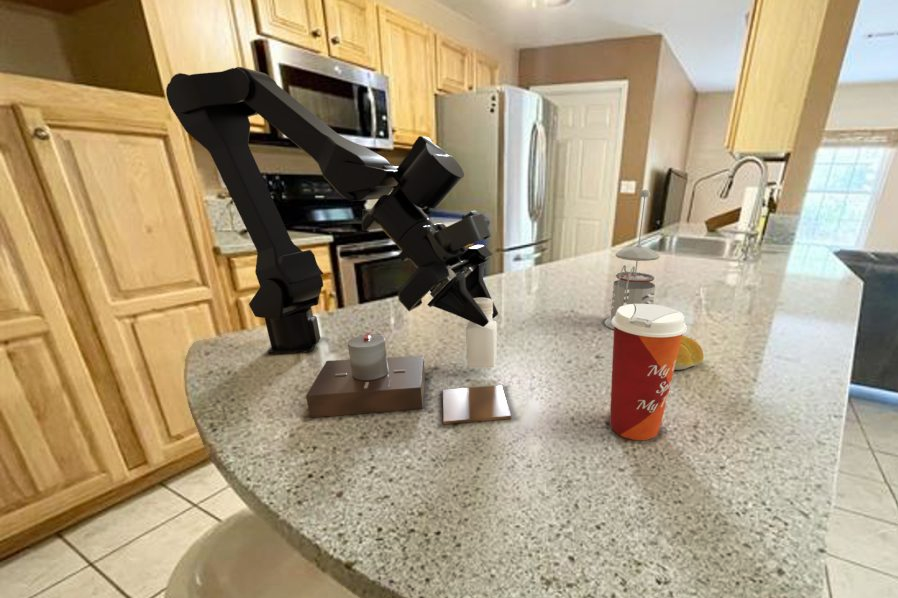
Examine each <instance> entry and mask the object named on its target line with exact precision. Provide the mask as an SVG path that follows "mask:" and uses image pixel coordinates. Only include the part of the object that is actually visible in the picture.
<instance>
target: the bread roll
mask: <svg viewBox="0 0 898 598" xmlns="http://www.w3.org/2000/svg"><path fill="white" fill-rule="evenodd" d="M703 360H704V351H703V348H702V346H701V345H700V344H699V343H698V342H697V341H696V340H694V339H693V338H692V337H689V336H687V335H682V338H681V343H680V347H679V351H678V355H677V359H676V364H675V368H674V371H676V370H677V371H681V370H685V369H689V368H691V367H696V366H698V365H700V364H702V362H703Z"/></svg>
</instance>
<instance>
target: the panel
mask: <svg viewBox="0 0 898 598" xmlns="http://www.w3.org/2000/svg"><path fill="white" fill-rule="evenodd" d="M387 363H388V373H387V374H386V375H385V376H383V377H381V378H378V379H374V380H358V379H355V378H354V377H353V375H352V369H351V363H350V359H333V360H326V361H325V363H324V364H323V366H322V368H321V370H320V371H319V373H318V374H317V376H316V378H315V380H314V381H313V383H312V385H311V386H310V388H309V390H308V391H307V393H306V395H305V398H306V403H307V407H308V412H309V417H310V418H311V419H312V418H324V417H335V416H347V415H349V416H350V415H361V414H374V413H375V414H376V413H384V412H387V413H388V412H399V411H410V410H411V411H413V410H422V409H423V408H424V396H425V395H424V394H425V382H426V381H425V380H426V369H425V368H426V367H425V356H424V355H423V354H421V355H403V356H390V357H389V356H387Z"/></svg>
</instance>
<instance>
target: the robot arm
mask: <svg viewBox="0 0 898 598" xmlns="http://www.w3.org/2000/svg"><path fill="white" fill-rule="evenodd" d="M165 95H166V99H167V103H168V105H169V106H170V108H171V110H172V112H173V114H174V115H175V116H176V118H177V120H178V122H179V123H180V124H181V126H182V128H183V129H184V131H185V132H186V133H187V134H188V135H190V136H191V137H192V138H193V139H194V140H195V141H196V142H197V143H199V144H200V145H201V146H202V147H203V148H204V149H205V150H207V151H208V153H209V155H210V156H211V158H212V161H213V162H214V165H215V167H216V168H217V171H218V173H219V175H220V178H221V180H222V181H223V183H224V185H225V187H226V190H227V192H228V194H229V196H230V198H231V200H232V203H233V205H234V206H235V208H236V210H237V213H238V214H239V216H240V218H241V220H242V223H243V225H244V226H245V229H246V231H247V233H248V235H249V237H250V239H251V241H252V243H253V245H254V248H255V250H256V253H257V254H256V263H255V271H254V273H255V276H256V279H257V282H258V285H259V288H258V289H257V291H256V292H255V294H254V295H253V297H252V298H251V300H250V301H249V303H248V307H249V308H250V310H251V312H252V314H253V315H254V317H255V318H262V319H264V322H265V326H266V330H267V335H268V340H269V343H270V347H269V348H268V349H267V351H266V352H267V354H269V355H272V354H273V355H274V354H275V355H276V354H291V353H292V354H293V353H294V354H295V353H309V352H312V351H313V350H314V348H315V347H316V345H317V344H318V343H319V341H320V340H321V333H320V328H319V327H320V326H319V323H318V317H317V315H314V314H313V307H315V306H318V305H319V303H320V295H321V293H322V290H323V287H324V280H323V277H322V275H324V272H323V271H322V269H321V268H320V266H319V265H318V262H317V259H316V256H315V254H314V252H313V251H312V249H306V250H302V249H301V248H300V247H298V245H296V244H295V243H294V242H293V240H292V239H291V236H290V233H289V232H288V230H287V228H286V225H285V223H284V221H283V219H282V216H281V214H280V212H279V210H278V208H277V206H276V203H275V201H274V199H273V197H272V194H271V192H270V190H269V188H268V186H267V184H266V181H265V179H264V177H263V175H262V173H261V170H260V168H259V166H258V164H257V161H256V159H255V157H254V155H253V153H252V151H251V149H250V146H249V141H250V133H251V122H250V119H249V118H250V117H251V118H252V117H254V116H257V115H258V116H260V117H261V118H262V119H264V120H265V122H267V123H269V124H270V125H271V126H273V128H275V129H276V130H277V131H278V132H280V134H282V135H283V136H284V137H286V138H287V139H289V140H290V141H291V142H292V143H293V144H295V146H297V147H298V148H299V149H301V150H302V151H303V152H305V153H306V154H307V155H308V156H309V157H311V158H312V160H314V161H315V162H316V164H317V165H318V168H319V169H320V172H321V175H322V176H323V178H324V179H325V180H326V181H327V182H328V183H329V185H330V186H331V187H332V188H333V189H334V190H335V191H336V193H338V194H339V196H341V197H342V198H344V199H346V200H347V201H352V202H361V201H372V200H376V202H375V203H374V205H373V206H372V207H371V208H363V209H361V213H362V220H361V229H362V231H365V232H367V231H373V230H378V229H381V230H382V232H384V233H385V234H386V236H388V238H389V239H390V240H391V241H392V242H393V243H394V244H395V246H397V248H398V249H399V250H400V253H399V254H398V255H397V257H398V258H399V259H400V260H401V261H402V263H404V262H406V261H410V263H412V265H413V266H414V267H415V268H416V269H415V270H414V271H413V272H412V273H411V275H409V277H408V278H407V279H406V280H405V281H404V282H403V283H402V285H400V287H399V288H398V289H397V297H398V302H400V304H401V305H402V306H403V307H404V308H405V309H406V310H407V311H408V312H411V311H412V310H415V309H416V308H418V307H420V306H421V305H422V304H423V302H422V301H423V300H422V299H423V298H424V297H425V296H426V295H427V294H428V293H429V292H430V293H429V295H430V296H431V297H432V299H431V300H429V301H428V302H427V306H428V307H429V308H432V307H433V308H437V309H439V310H442V311H444V312H448V313H450V314H453V315H455V316H457V317H460V318H462V319H464V320H466V321H471V322H473V323H475V324H478V325H480V326H482V327H484V326H485V325H486V324H488V322H489V321H488V319H487V317H486V316H485V314H484V313H483V311H482V310H481V309H480V307H479V306H478V304H477V303H476V302H475V300H474V299H473V298H489V299H492V300H493V298H492V296H491V294H490V292H489V290H488V287H487V285H486V283H485V280H484V271H485V267H486V264H487V262H489V260H490V259H491V258H492V257H493V253H492V251H490V250H489V248H488V247H487V246H486V245H483V244H476V245H473V244H475V243H478V242H480V241H483V240H487V239H489V238H492V235H491V232H490V230H489V226H490V220H489V219H487V218H486V217H485V214H484V213H483V214H482V213H479V212H478V211H477V210H471V211H469V212H468V213H466V214H462V215H461V220H458V221H456V222H454V223H452V224H450V225H448V226H446V225H445V224H444V223H443V222H442V223H441V222H438V223H434V222H433V221H432V220H431V218H430V217H429V216H428V214H426V213H425V212H424V210H425V209H427V208H429V209H431V210H436V209H437V208H439V206H440V205H441V204H442V203H443V202H444V201H445V200H446V198H447V197H448V196H449V195H450V194H451V193H452V191H453V190H454V189H455V188H456V186H457V185H458V184H459V183H460V182H461V181H462V179H463V178H464V177H465V171H464V170H463V168H462V166H461V165H460V164H459V162H458V161H457V159H456V158H454V157H453V156H452V155H449V153H448V152H446V151H445V150H444V149H443V148H441V147H440V146H438V145H437V144H435V143H434V142H433V141H432V140H431V138H429V137H426V136H421V135H419V136H418V137H417V138H416V139H415V140H414V142H413V144H412V147H411V148H410V150H409V152H408V153H407V154H406V156H405V157H404V158H403V159H402V161H401V162H400V164H399V165H391V162H389V161H388V160H387V159H386V158H385V157H383V156H382V155H380V154H378V153H376V152H375V151H373V150H371V149H369V148H367V147H365V146H364V145H361V144H359V143H357V142H354V141H352V140H351V139H350V140H349V139H348V138H345V137H344V136H342V135H340V134H339V133H337V132H336V131H335V130H334V129H332V128H331V127H330V126H329V125H328V124H326V123H325V122H324V121H323V120H321V119H320V118H319V117H317V115H316V114H314V113H313V112H312V111H310V110H309V109H308V108H307V107H305V106H304V105H303V104H302V103H301V102H299V101H298V100H297V99H296V98H294V97H293V96H292V95H290V93H288V92H287V91H286V90H285V89H283V88H282V87H280V86H279V84H278V83H277V82H276V81H275V80H274V79H273V78H272V77H271V76H270V75H268V74H267V73H265V72H261V71H259V70H258V71H257V70H254V69H250V68H247V67H242V66H236V67H232V68H228V69H225V70H222V71H213V72H200V73H193V74H186V73H181V72H179V73H176V74H174V75H173V76H172V77H171V78H170V81H169V83H167V86H166V88H165ZM469 245H473V246H470V247H467V246H469ZM498 315H499V312H498V309H497V307H496V305H495V302H493V314H492V319H495V318H496V317H497V316H498Z"/></svg>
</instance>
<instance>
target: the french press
mask: <svg viewBox="0 0 898 598" xmlns="http://www.w3.org/2000/svg"><path fill="white" fill-rule="evenodd" d="M638 196H639V197H641V198H643V202H642V212H641V220H640V228H639V236H638V244H636V245H631V246H627V247H623V248H621V249H620V250H618V251H617V252H616V253H615V257H616V258H618V259H621V260H626V261H634V262H635V261H636V262H635V266H634V265H633V266H632V267H631V268H630V271H627V266H626V265H625V264H624V265H623V266H622V268H621V270H620V272H618V273H616V275H615V277H616V278H617V280H614V282H613V283H612V284H613V286H612V289H613V290H612V296H611V304H610V308H611V309H610V316H609V317H608V318H606V320H605V321H604V325H605V326H606V327H607V328H609V329H611V330H614V325H613V324H612V319H613V317H614V316H615V315H616V311H617V309H618V308H619V307H621V306H623V305H625V303H626V305H628V304H653V305H654V303H653V302H654V295H655V293H656V292H655V291H656V284H655V283H654V280H655V276H654V275H653V274H650V273H646V272H637V270H638V262H649V261H656V260H658V259H659V258H660V257H661V255H660V254H659V253H658V252H656V250H653V249H651V248H649V247H648V246H643V245H641V236H642V229H643V228H642V227H643V220H644V210H645V204H646V203H645V202H646V198H651V192H650V191H649V190H648V189H643V190H641V191H639V195H638ZM623 270H624V271H623ZM649 295H651V296H649Z"/></svg>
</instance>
